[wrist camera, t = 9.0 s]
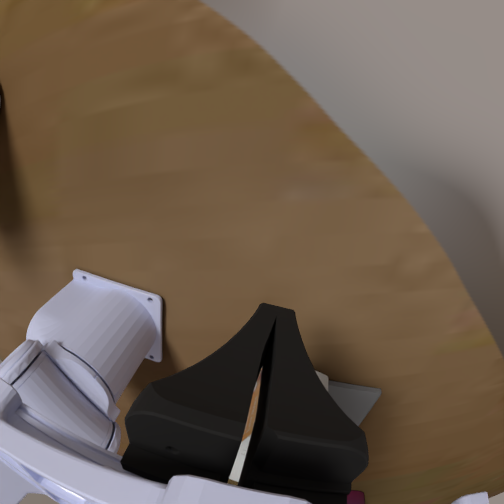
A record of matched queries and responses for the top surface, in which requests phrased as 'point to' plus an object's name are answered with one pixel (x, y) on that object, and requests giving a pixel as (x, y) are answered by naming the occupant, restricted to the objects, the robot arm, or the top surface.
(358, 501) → the cup
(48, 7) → the top surface
